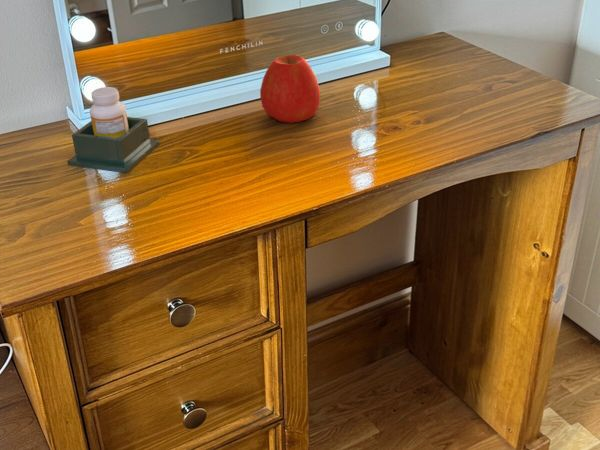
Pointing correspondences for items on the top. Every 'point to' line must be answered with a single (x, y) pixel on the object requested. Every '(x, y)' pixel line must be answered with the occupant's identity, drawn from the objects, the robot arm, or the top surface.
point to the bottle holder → (113, 147)
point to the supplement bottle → (108, 113)
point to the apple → (290, 90)
